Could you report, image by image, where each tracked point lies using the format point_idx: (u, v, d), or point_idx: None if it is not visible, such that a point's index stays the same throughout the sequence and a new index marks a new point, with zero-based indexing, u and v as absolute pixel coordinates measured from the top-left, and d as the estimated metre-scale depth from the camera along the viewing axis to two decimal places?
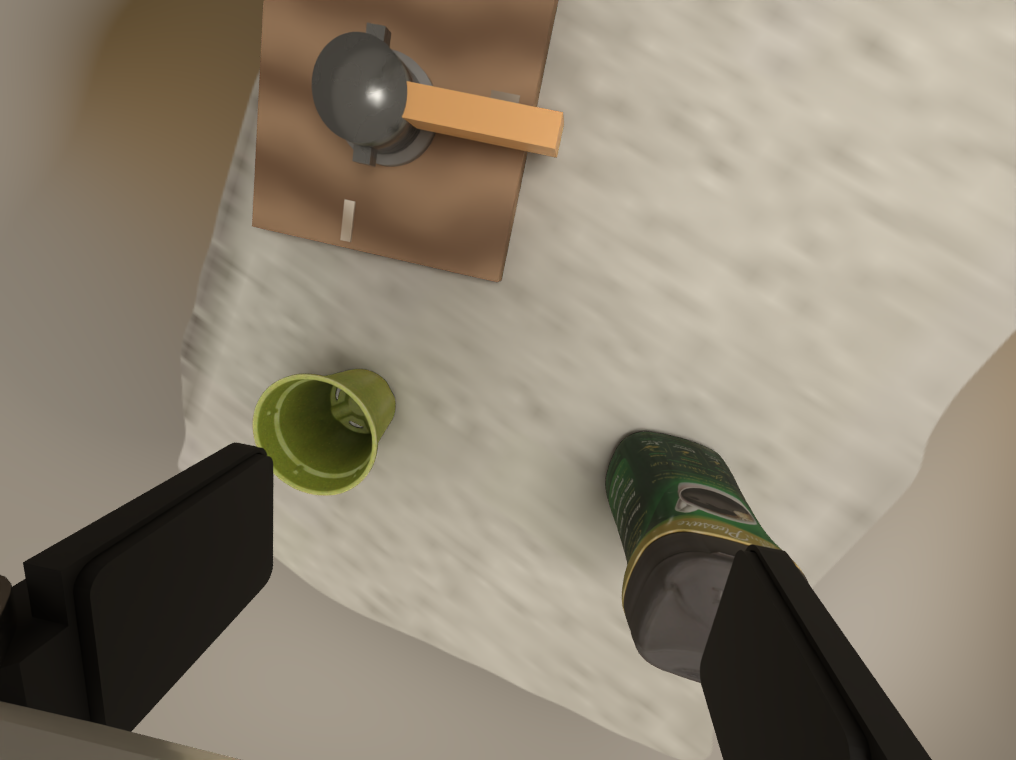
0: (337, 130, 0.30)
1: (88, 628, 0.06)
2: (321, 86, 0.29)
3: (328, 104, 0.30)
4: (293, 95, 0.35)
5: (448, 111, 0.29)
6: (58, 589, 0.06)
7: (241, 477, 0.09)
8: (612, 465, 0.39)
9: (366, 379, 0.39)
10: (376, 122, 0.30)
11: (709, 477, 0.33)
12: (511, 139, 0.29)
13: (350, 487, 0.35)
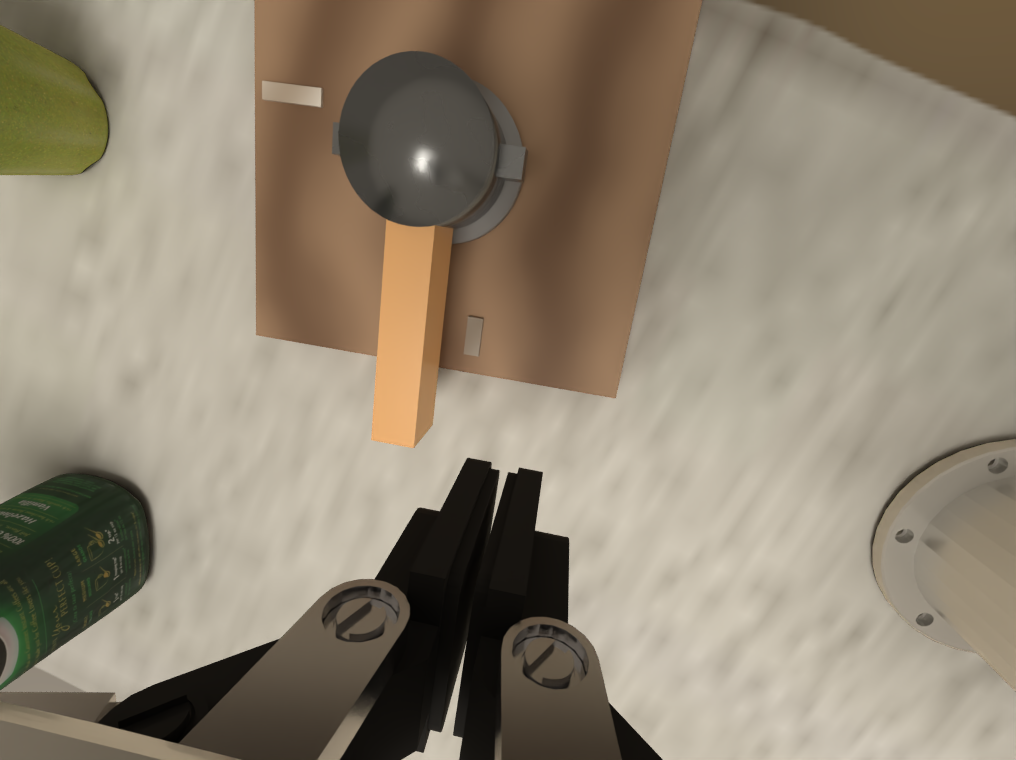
0: (351, 103, 0.18)
1: (448, 628, 0.07)
2: (412, 71, 0.17)
3: (387, 85, 0.18)
4: None
5: (400, 293, 0.20)
6: (436, 594, 0.07)
7: None
8: (79, 487, 0.31)
9: (64, 135, 0.24)
10: (370, 176, 0.18)
11: (47, 627, 0.27)
12: (376, 383, 0.21)
13: None
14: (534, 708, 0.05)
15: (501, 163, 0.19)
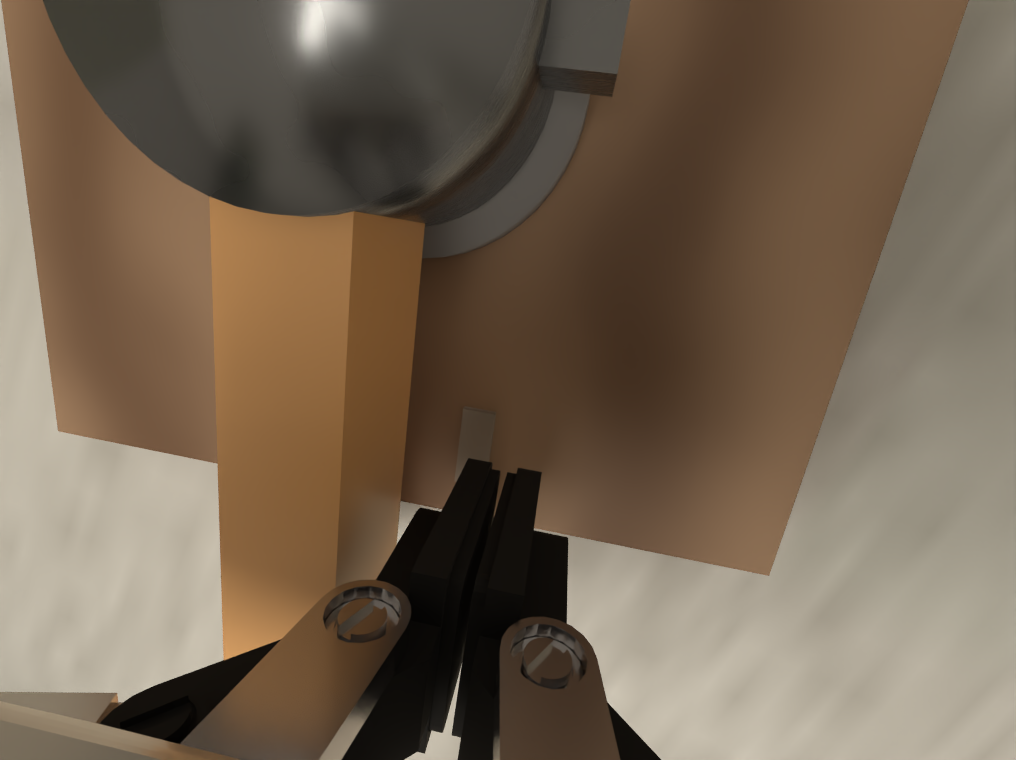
0: None
1: (449, 629, 0.07)
2: None
3: None
4: None
5: (267, 404, 0.07)
6: (437, 595, 0.07)
7: None
8: None
9: None
10: (137, 51, 0.06)
11: None
12: (227, 616, 0.08)
13: None
14: (533, 708, 0.05)
15: (558, 23, 0.06)
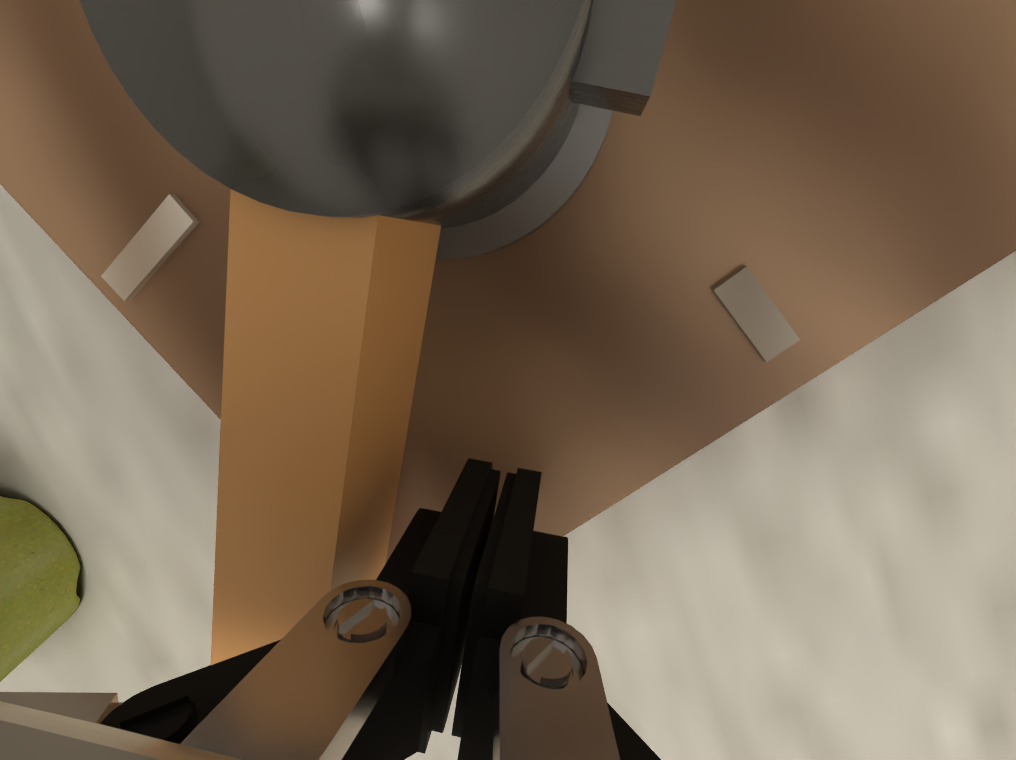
0: None
1: (449, 629, 0.07)
2: None
3: None
4: None
5: (275, 402, 0.07)
6: (437, 595, 0.07)
7: None
8: None
9: None
10: (167, 36, 0.06)
11: None
12: (217, 608, 0.08)
13: None
14: (532, 708, 0.05)
15: (595, 41, 0.06)
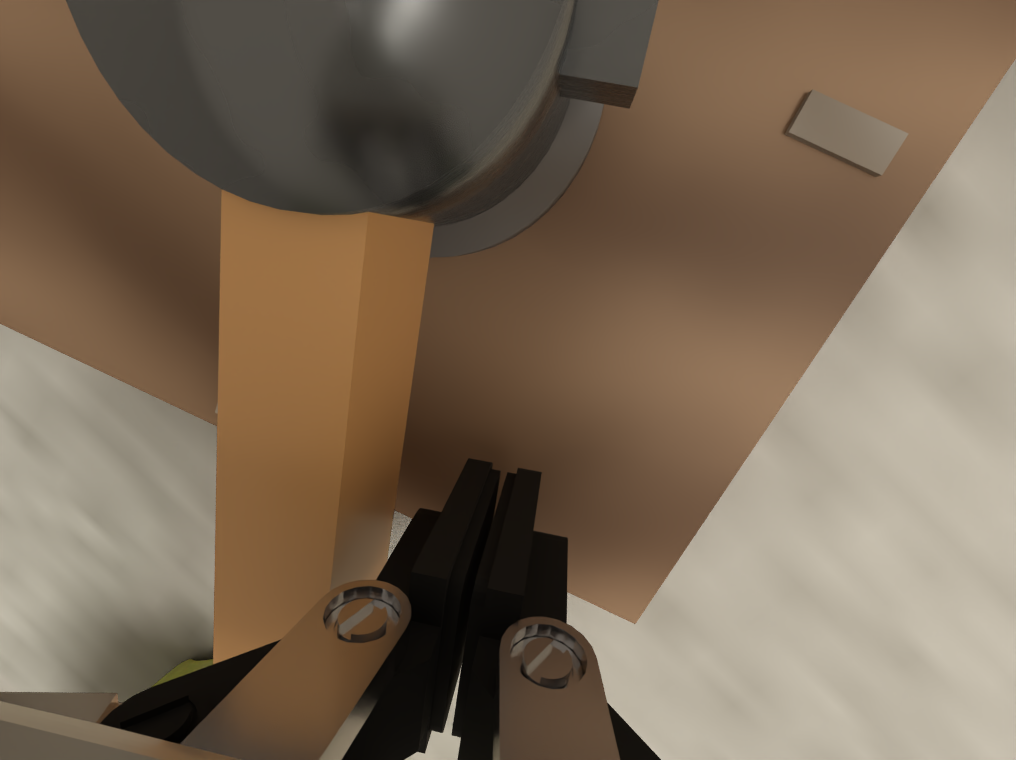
0: None
1: (449, 629, 0.07)
2: None
3: None
4: None
5: (271, 401, 0.07)
6: (437, 595, 0.07)
7: None
8: None
9: None
10: (155, 39, 0.06)
11: None
12: (219, 610, 0.08)
13: None
14: (532, 708, 0.05)
15: (581, 33, 0.06)
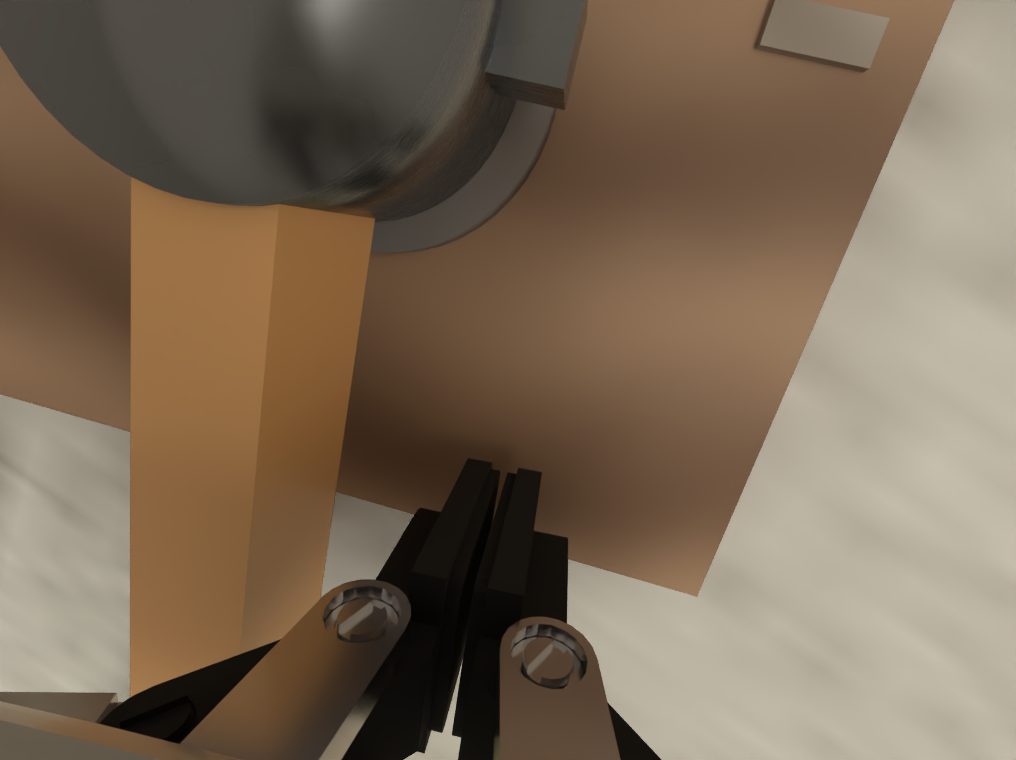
0: None
1: (449, 629, 0.07)
2: None
3: None
4: None
5: (183, 393, 0.07)
6: (437, 595, 0.07)
7: (492, 491, 0.09)
8: None
9: None
10: (56, 16, 0.05)
11: None
12: (135, 602, 0.08)
13: None
14: (532, 708, 0.05)
15: (507, 31, 0.06)
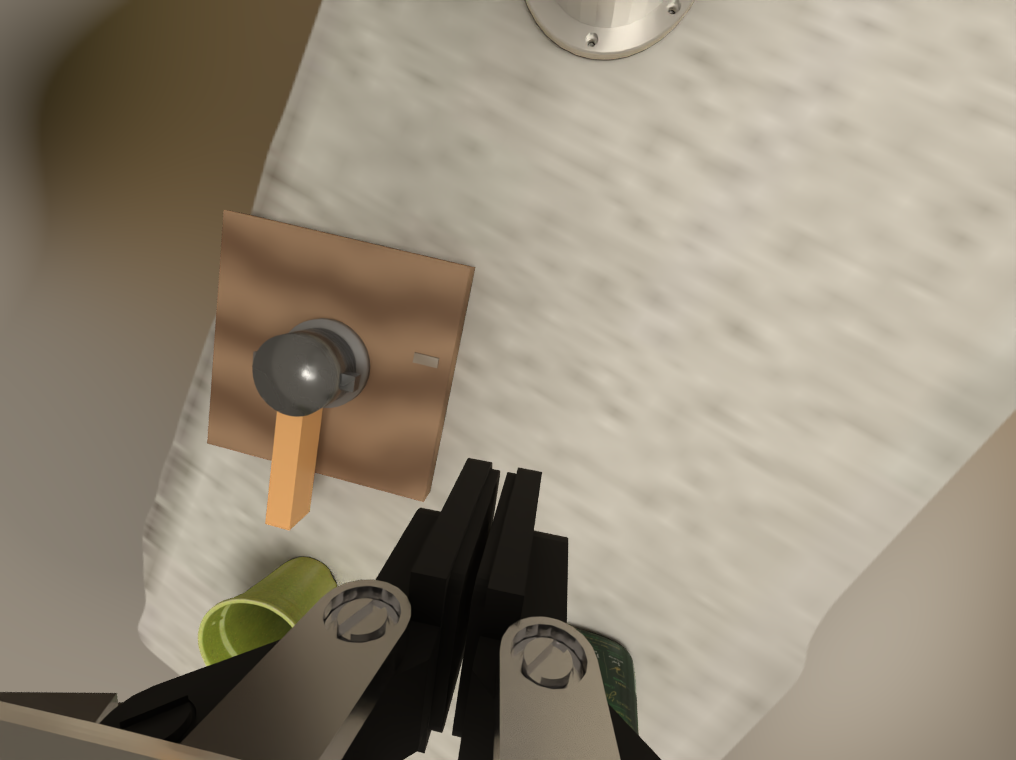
0: (259, 353, 0.34)
1: (449, 629, 0.07)
2: (291, 343, 0.34)
3: (278, 348, 0.34)
4: (244, 343, 0.40)
5: (283, 447, 0.36)
6: (437, 595, 0.07)
7: (492, 491, 0.09)
8: None
9: (307, 576, 0.43)
10: (268, 389, 0.35)
11: None
12: (269, 492, 0.37)
13: None
14: (533, 708, 0.05)
15: (342, 383, 0.35)
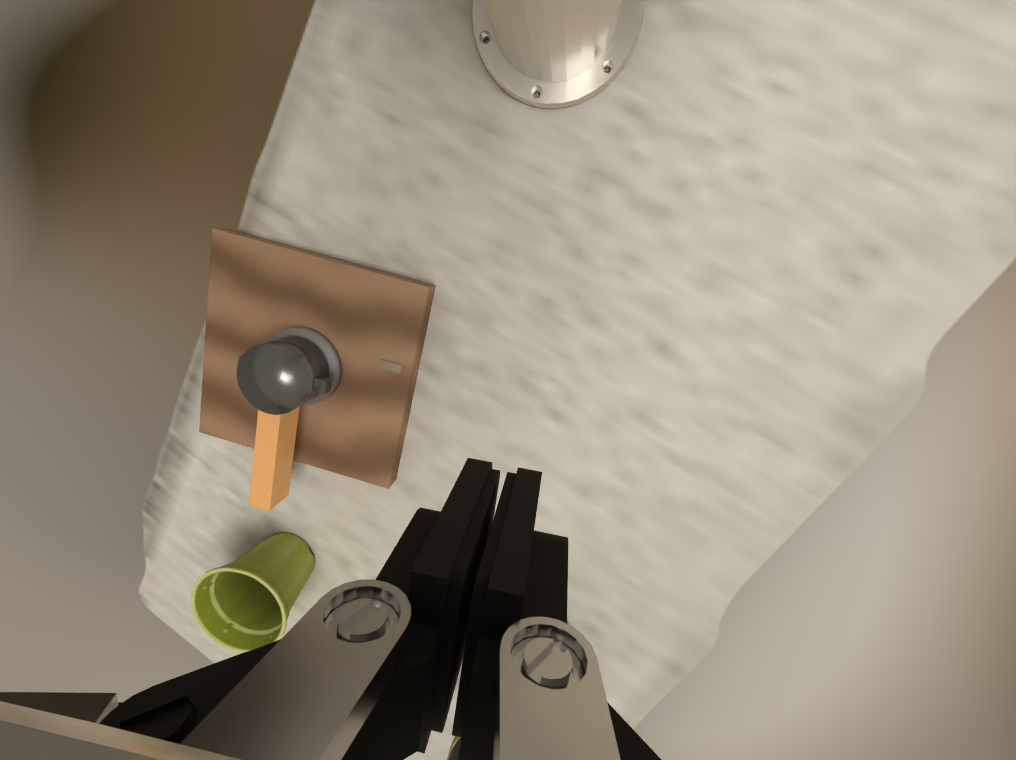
0: (242, 360, 0.39)
1: (449, 629, 0.07)
2: (270, 352, 0.39)
3: (259, 355, 0.39)
4: (231, 346, 0.45)
5: (264, 440, 0.41)
6: (437, 594, 0.07)
7: (492, 491, 0.09)
8: None
9: (287, 550, 0.49)
10: (250, 390, 0.40)
11: None
12: (252, 478, 0.43)
13: None
14: (533, 708, 0.05)
15: (315, 386, 0.41)
